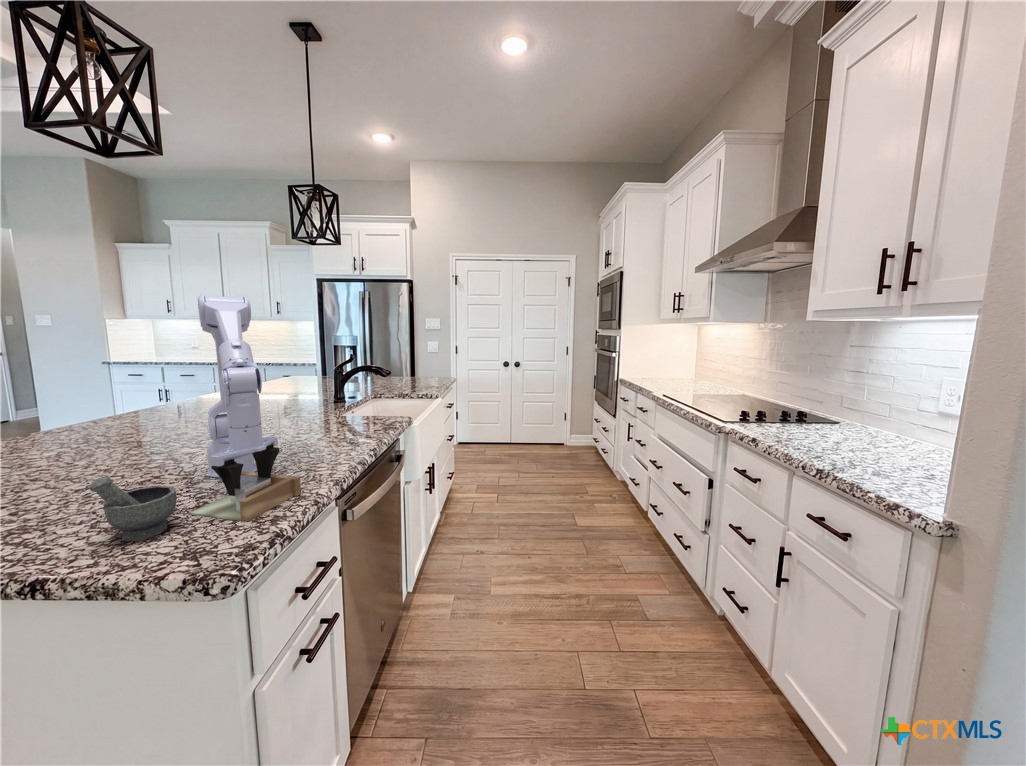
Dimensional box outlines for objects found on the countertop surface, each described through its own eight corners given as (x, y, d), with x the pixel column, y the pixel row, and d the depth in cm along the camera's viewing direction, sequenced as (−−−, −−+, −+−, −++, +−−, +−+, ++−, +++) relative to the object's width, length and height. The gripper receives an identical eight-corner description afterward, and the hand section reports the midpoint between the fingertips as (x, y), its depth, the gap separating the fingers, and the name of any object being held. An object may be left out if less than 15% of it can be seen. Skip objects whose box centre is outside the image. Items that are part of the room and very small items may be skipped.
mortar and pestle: (163, 515, 79) (157, 456, 77) (191, 525, 75) (184, 464, 73) (85, 542, 69) (75, 476, 67) (111, 556, 65) (102, 486, 63)
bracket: (272, 500, 85) (270, 478, 85) (246, 514, 79) (245, 490, 78) (240, 497, 87) (238, 475, 86) (212, 510, 80) (210, 486, 80)
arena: (186, 514, 80) (184, 494, 79) (243, 487, 93) (242, 471, 92) (251, 522, 77) (249, 502, 76) (300, 493, 90) (299, 476, 89)
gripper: (230, 435, 75) (236, 504, 77) (287, 418, 89) (291, 477, 91) (198, 432, 76) (205, 500, 78) (260, 416, 90) (264, 474, 92)
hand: (249, 487), depth 84 cm, fingers open, 7 cm apart
